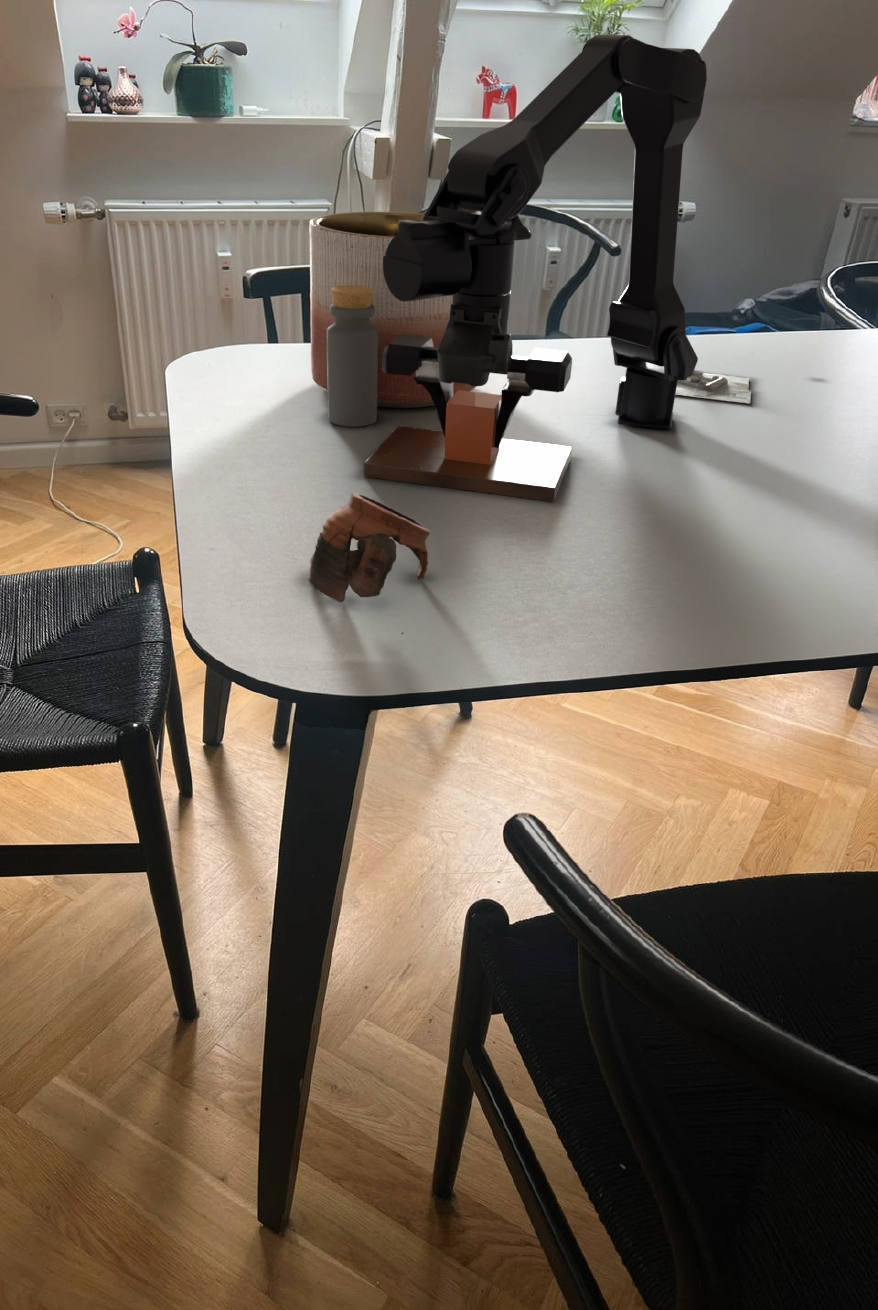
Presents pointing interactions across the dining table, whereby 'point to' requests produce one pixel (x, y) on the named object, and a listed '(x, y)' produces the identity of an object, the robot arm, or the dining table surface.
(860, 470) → the dining table surface
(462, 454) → the terracotta block
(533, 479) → the board
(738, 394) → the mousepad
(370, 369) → the bottle
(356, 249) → the planter
